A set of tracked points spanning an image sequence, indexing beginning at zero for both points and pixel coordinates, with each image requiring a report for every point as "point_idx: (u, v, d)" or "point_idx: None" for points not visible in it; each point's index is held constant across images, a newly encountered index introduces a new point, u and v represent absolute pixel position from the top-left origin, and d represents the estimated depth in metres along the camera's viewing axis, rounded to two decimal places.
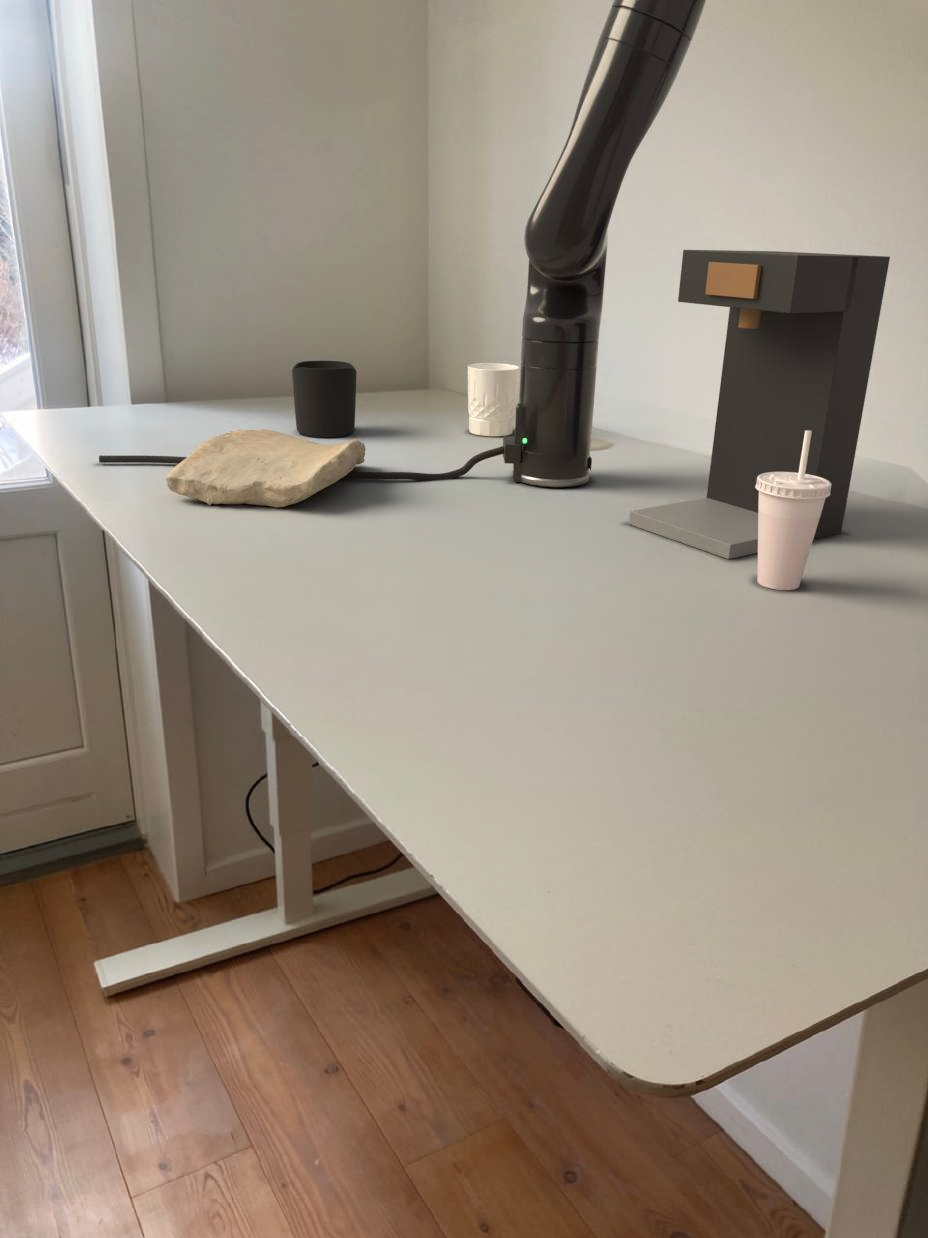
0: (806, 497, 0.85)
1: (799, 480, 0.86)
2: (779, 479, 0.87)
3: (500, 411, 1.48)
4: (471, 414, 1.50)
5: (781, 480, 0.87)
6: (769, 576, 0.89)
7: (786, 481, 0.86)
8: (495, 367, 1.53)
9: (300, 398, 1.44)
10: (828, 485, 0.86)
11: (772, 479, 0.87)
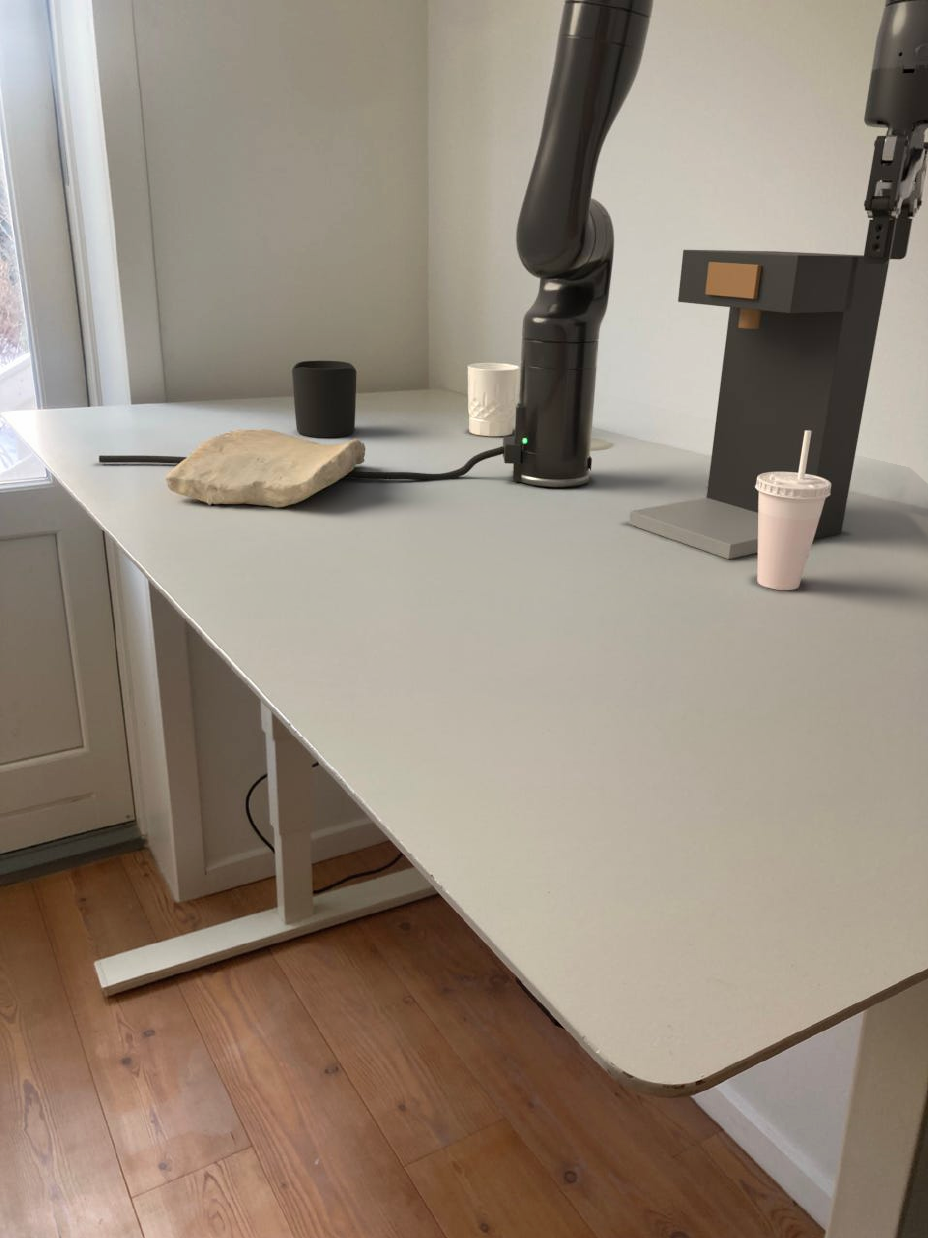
0: (806, 497, 0.85)
1: (799, 480, 0.86)
2: (779, 479, 0.87)
3: (500, 411, 1.48)
4: (471, 414, 1.50)
5: (781, 480, 0.87)
6: (769, 576, 0.89)
7: (786, 481, 0.86)
8: (495, 367, 1.53)
9: (300, 398, 1.44)
10: (828, 485, 0.86)
11: (772, 479, 0.87)
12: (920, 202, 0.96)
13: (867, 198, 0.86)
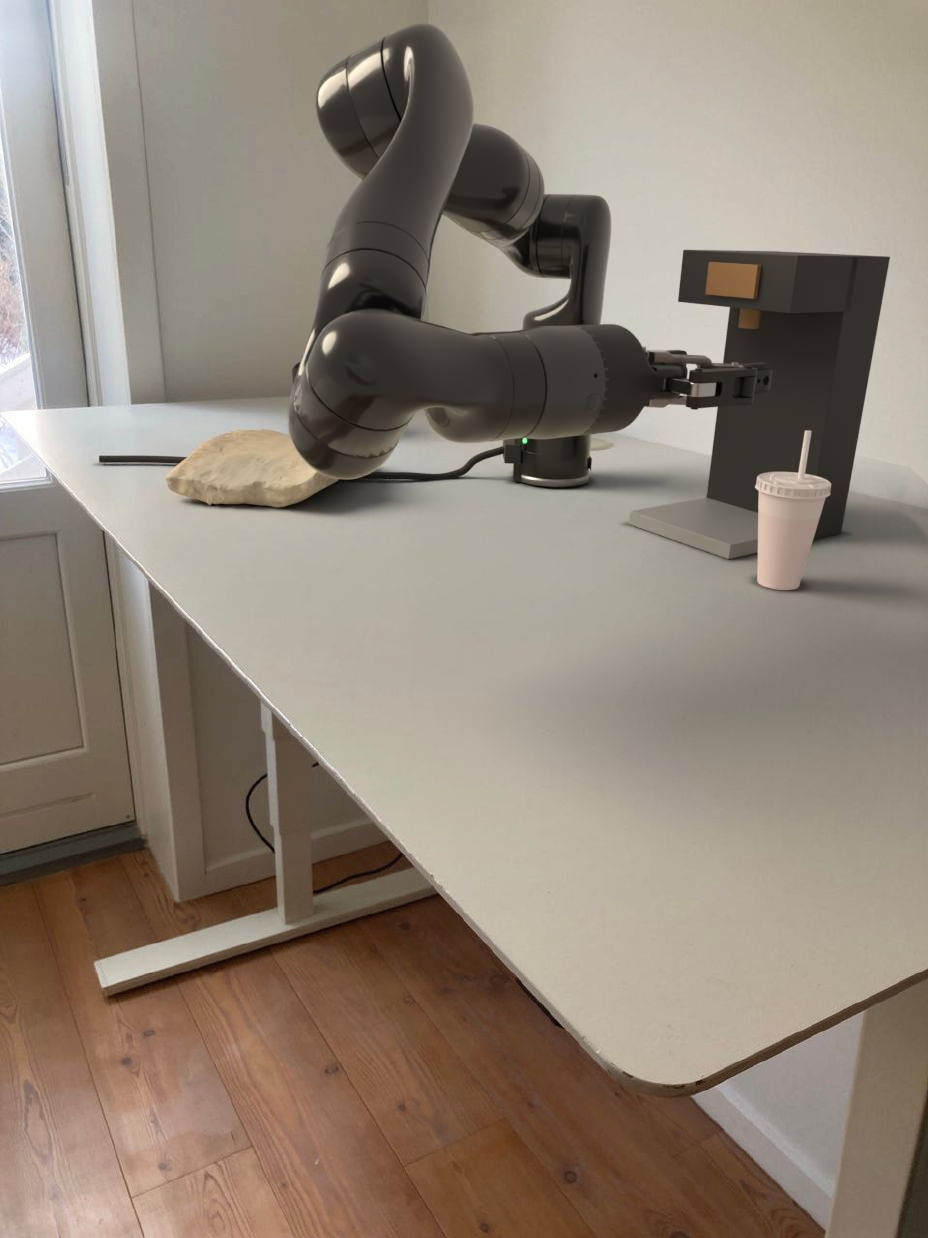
0: (806, 497, 0.85)
1: (799, 480, 0.86)
2: (779, 479, 0.87)
3: None
4: None
5: (781, 480, 0.87)
6: (769, 576, 0.89)
7: (786, 481, 0.86)
8: None
9: None
10: (828, 485, 0.86)
11: (772, 479, 0.87)
12: None
13: None
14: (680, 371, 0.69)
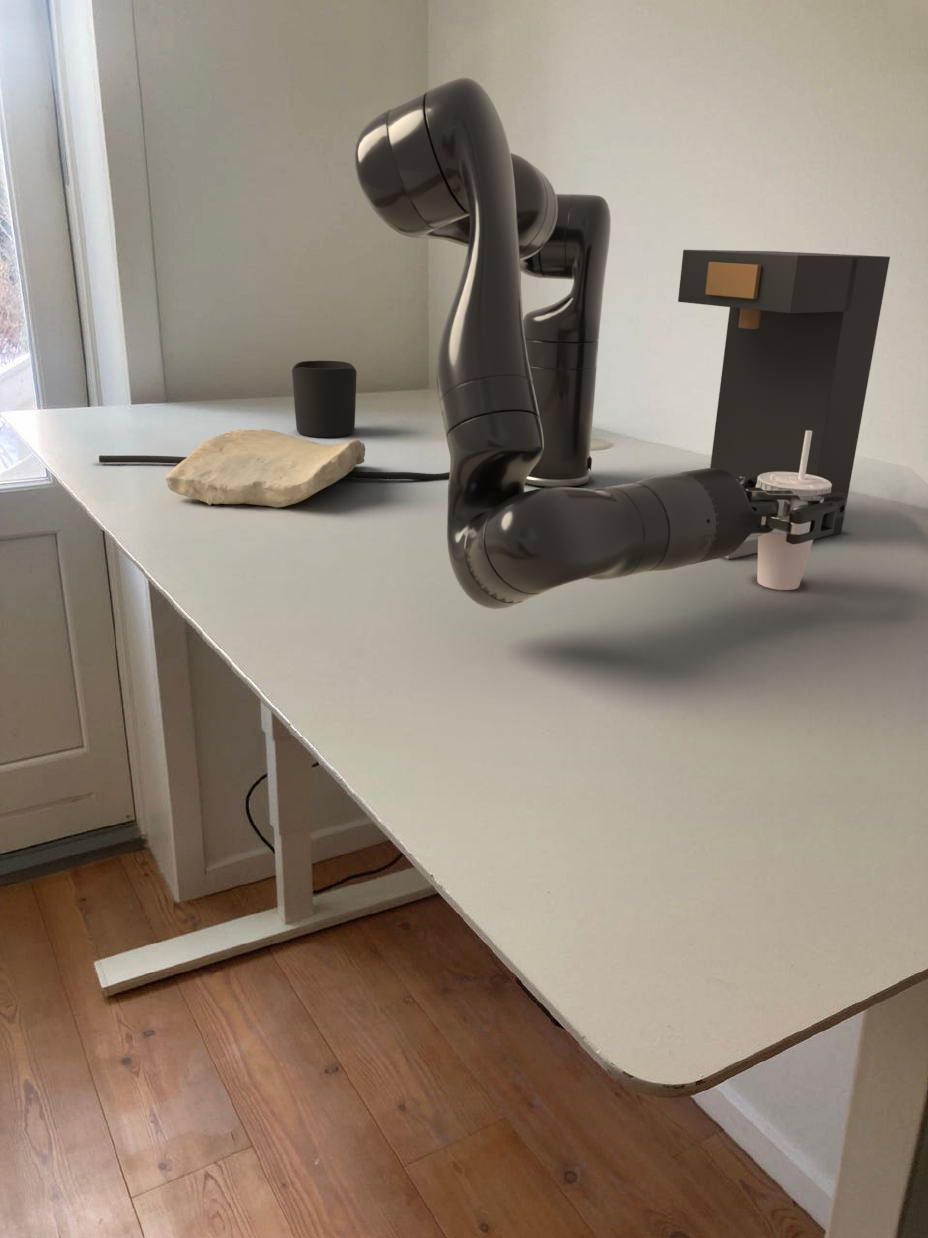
0: None
1: (799, 480, 0.86)
2: (779, 479, 0.87)
3: None
4: None
5: (781, 480, 0.87)
6: (769, 576, 0.89)
7: (786, 481, 0.86)
8: None
9: (300, 398, 1.44)
10: (828, 485, 0.85)
11: (772, 479, 0.87)
12: None
13: None
14: (775, 510, 0.80)
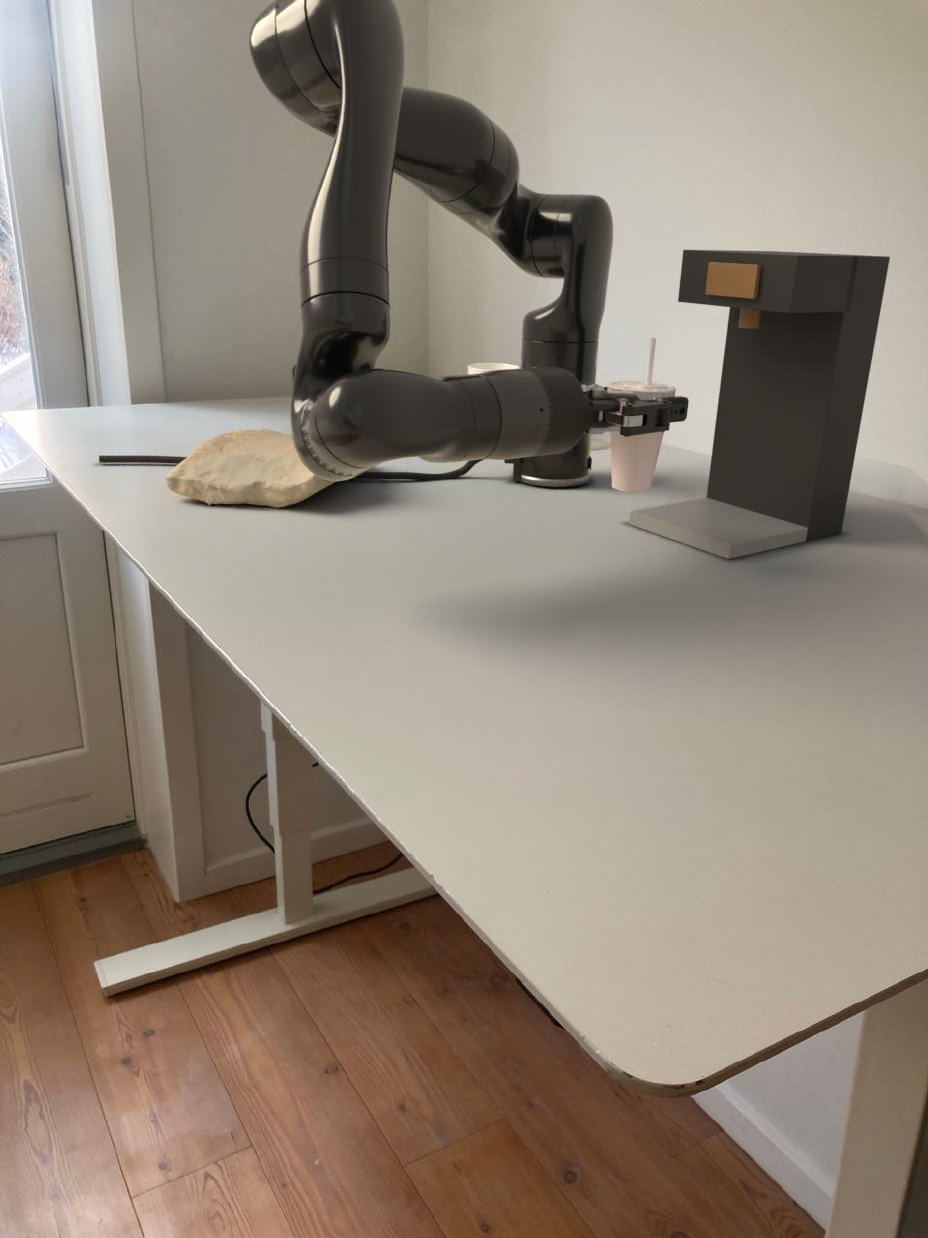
0: None
1: (645, 385, 0.91)
2: (627, 385, 0.92)
3: None
4: None
5: (629, 385, 0.92)
6: (620, 478, 0.94)
7: (633, 386, 0.92)
8: (495, 367, 1.53)
9: None
10: (671, 389, 0.91)
11: (621, 385, 0.92)
12: None
13: None
14: (612, 405, 0.86)
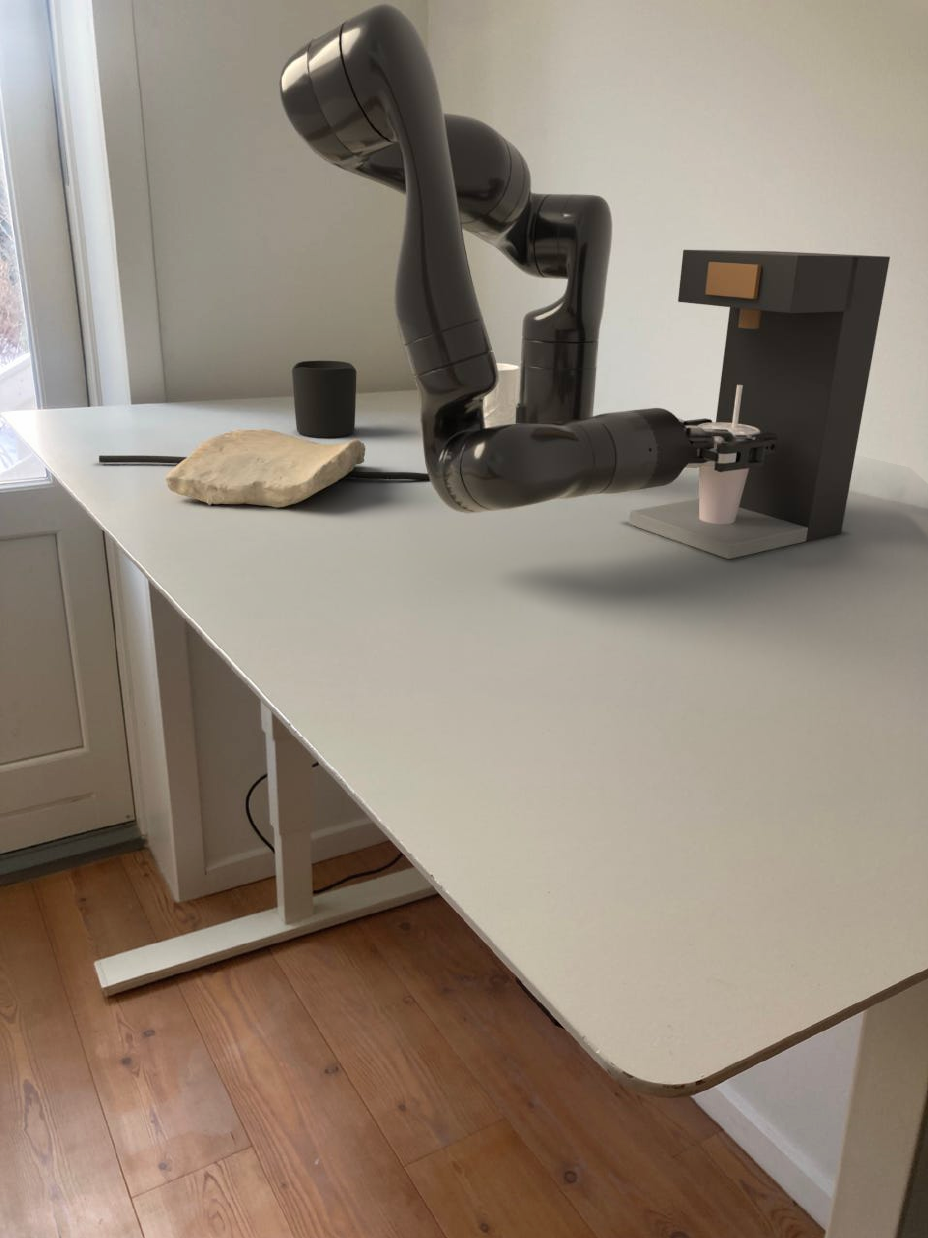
0: None
1: (732, 428, 1.00)
2: (715, 427, 1.01)
3: (500, 411, 1.48)
4: None
5: (717, 428, 1.01)
6: (708, 512, 1.03)
7: None
8: None
9: (300, 398, 1.44)
10: (757, 432, 1.00)
11: (710, 427, 1.01)
12: None
13: None
14: (710, 443, 0.94)
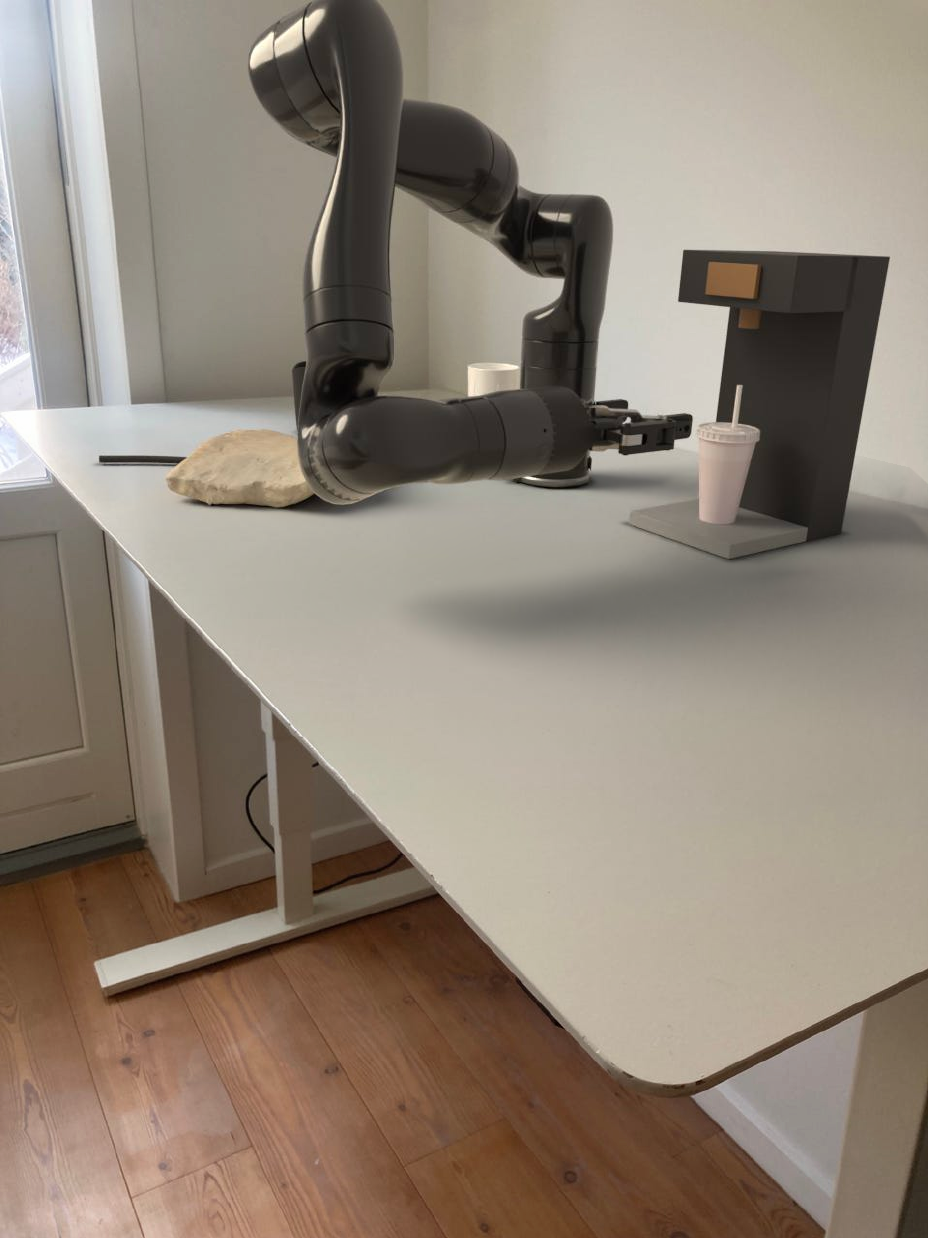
0: (737, 441, 0.99)
1: (732, 428, 1.00)
2: (715, 427, 1.01)
3: None
4: None
5: (717, 428, 1.01)
6: (708, 512, 1.03)
7: (721, 429, 1.00)
8: (495, 367, 1.53)
9: (300, 398, 1.44)
10: (757, 432, 1.00)
11: (710, 427, 1.01)
12: None
13: None
14: (615, 424, 0.87)
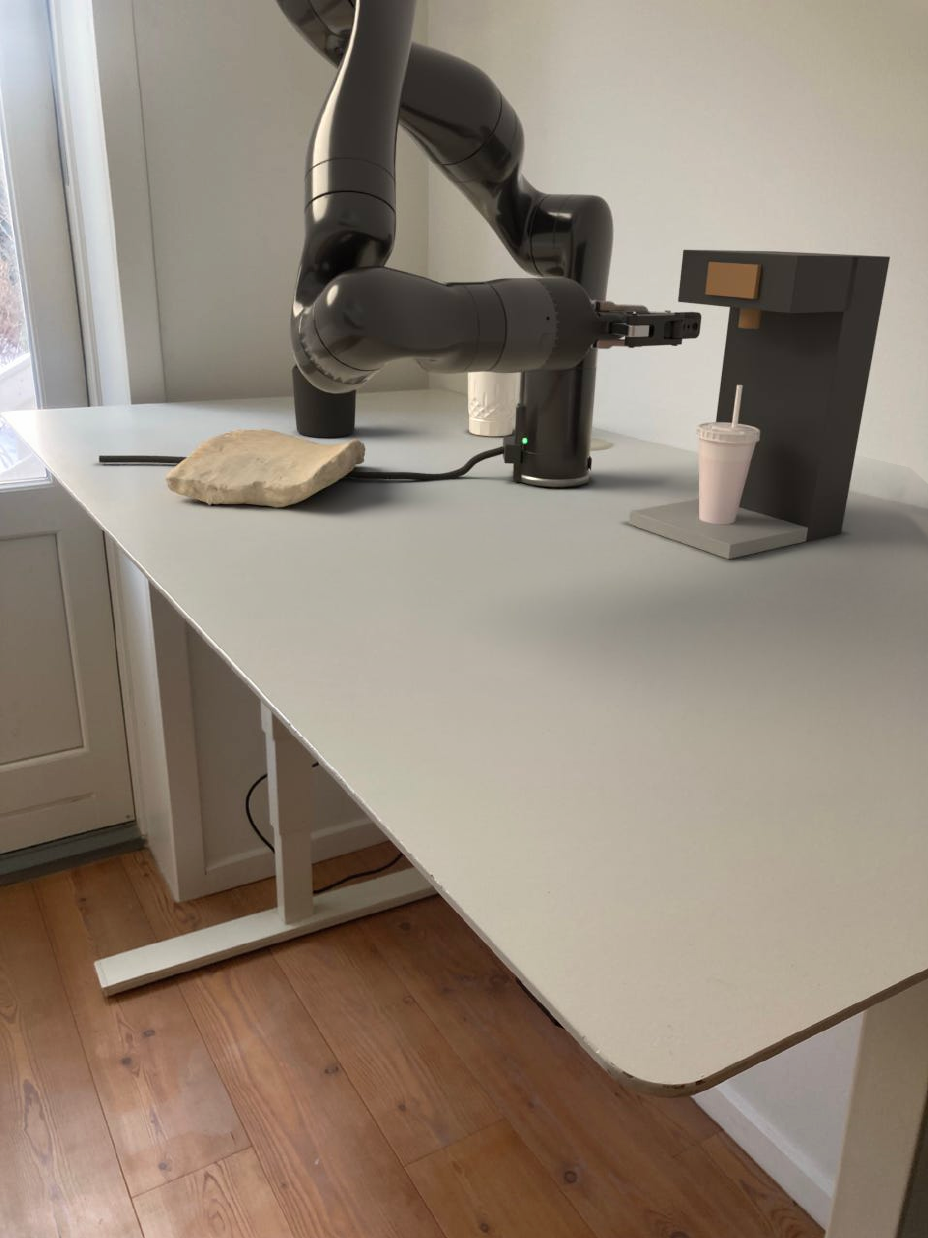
0: (737, 441, 0.99)
1: (732, 428, 1.00)
2: (715, 427, 1.01)
3: (500, 411, 1.48)
4: (471, 414, 1.50)
5: (717, 428, 1.01)
6: (708, 512, 1.03)
7: (721, 429, 1.00)
8: None
9: (300, 398, 1.44)
10: (757, 432, 1.00)
11: (710, 427, 1.01)
12: (672, 344, 0.84)
13: None
14: (620, 317, 0.83)
